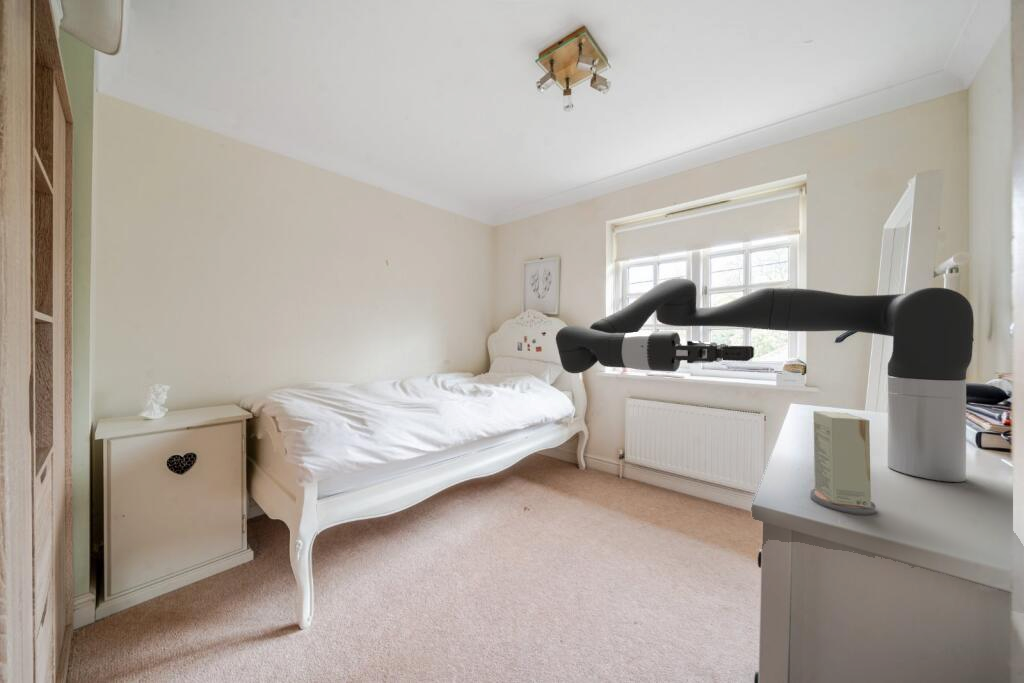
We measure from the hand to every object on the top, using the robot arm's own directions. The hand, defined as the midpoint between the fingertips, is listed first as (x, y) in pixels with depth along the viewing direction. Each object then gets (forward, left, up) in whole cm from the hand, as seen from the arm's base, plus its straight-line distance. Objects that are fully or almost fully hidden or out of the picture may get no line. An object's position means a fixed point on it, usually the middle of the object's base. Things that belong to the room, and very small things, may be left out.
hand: (752, 353), depth 58 cm
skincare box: (+1, +11, -21) cm, 24 cm away
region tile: (+1, +11, -22) cm, 24 cm away
